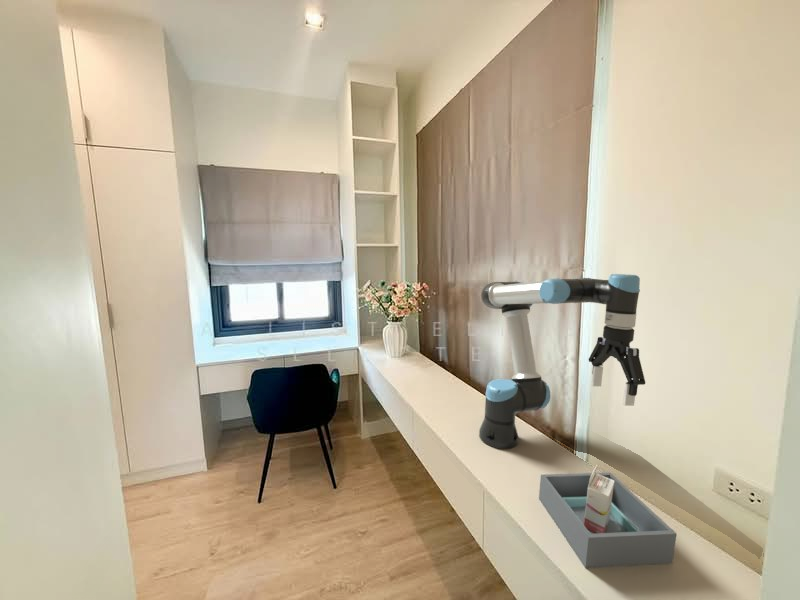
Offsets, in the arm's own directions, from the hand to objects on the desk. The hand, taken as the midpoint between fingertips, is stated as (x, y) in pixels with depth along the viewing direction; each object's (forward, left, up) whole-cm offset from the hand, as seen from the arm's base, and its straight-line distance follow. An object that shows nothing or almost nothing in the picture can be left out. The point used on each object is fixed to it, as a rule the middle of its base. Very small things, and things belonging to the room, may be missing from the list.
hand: (611, 394), depth 98 cm
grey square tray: (+14, -11, -32) cm, 36 cm away
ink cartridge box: (+14, -11, -31) cm, 35 cm away
